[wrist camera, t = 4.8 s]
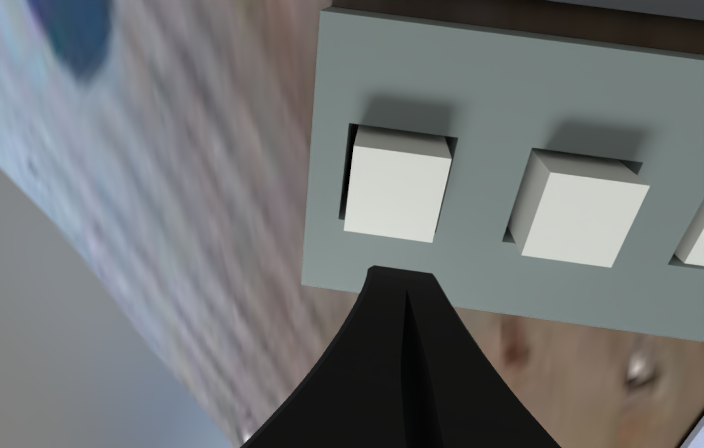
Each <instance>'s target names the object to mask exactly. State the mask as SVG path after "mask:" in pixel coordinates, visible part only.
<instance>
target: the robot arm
mask: <svg viewBox="0 0 704 448" xmlns="http://www.w3.org/2000/svg"><path fill="white" fill-rule="evenodd" d="M240 448H561V447H560V446H559V445H558V444H557V442H556V441H555V440H554V439H553V438H552V437H551V436H550V435H549V434H548V433H547V431H546V430H545V429H544V428H543V427H542V426H541V425H540V424H539V422H538V421H537V420H536V419H535V418H534V417H533V416H532V415H531V414H530V412H529V411H528V410H527V409H526V408H525V407H524V406H523V404H522V403H521V402H520V401H519V400H518V398H517V397H516V396H515V395H514V393H513V392H512V391H511V390H510V388H509V387H508V386H507V384H506V383H505V382H504V381H503V379H502V378H501V377H500V375H499V374H498V373H497V371H496V370H495V369H494V367H493V366H492V365H491V363H490V362H489V361H488V359H487V358H486V356H485V355H484V354H483V352H482V351H481V349H480V348H479V346H478V345H477V343H476V342H475V340H474V339H473V337H472V336H471V334H470V333H469V331H468V330H467V329H466V327H465V325H464V324H463V322H462V321H461V319H460V318H459V316H458V314H457V313H456V311H455V309H454V308H453V306H452V305H451V303H450V301H449V300H448V298H447V296H446V294H445V293H444V291H443V289H442V288H441V286H440V284H439V282H438V281H437V279H436V277H435V276H434V275H433V273H427V272H419V271H412V270H405V269H398V268H391V267H384V266H377V265H373V266H372V267H370V268H368V270H367V276H366V279H365V282H364V285H363V288H362V290H361V292H360V294H359V296H358V298H357V300H356V302H355V304H354V306H353V308H352V310H351V311H350V313H349V315H348V317H347V318H346V320H345V322H344V324H343V325H342V327H341V328H340V330H339V332H338V333H337V334H336V336H335V337H334V339H333V340H332V342H331V343H330V345H329V346H328V348H327V349H326V350H325V352H324V353H323V355H322V356H321V358H320V359H319V360H318V362H317V363H316V364H315V366H314V367H313V368H312V369H311V371H310V372H309V373H308V374H307V376H306V377H305V378H304V379H303V381H302V382H301V383H300V384H299V385H298V387H297V388H296V389H295V390H294V391H293V393H292V394H291V395H290V396H289V397H288V398H287V399H286V401H285V402H284V403H283V404H282V405H281V406H280V407H279V408H278V409H277V410H276V411H275V412H274V413H273V415H272V416H271V417H270V418H269V419H268V420H267V421H266V422H265V423H264V424H263V425H262V426H261V427H260V428H259V429H258V430H257V431H256V432H255V433H254V434H253V435H252V437H251V438H249V439H248V440H247V441H246V442H245V443H244V444H243V445H242V446H241V447H240ZM680 448H704V416H703V417H702V419H701V420H700V421H699V423H698V424H697V425H696V427H695V428H694V430H693V431H692V432H691V434H690V435H689V436H688V438H687V439H686V440H685V442H684V443H683V444H682V446H681V447H680Z"/></svg>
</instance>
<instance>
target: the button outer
mask: <svg viewBox="0 0 704 448" xmlns="http://www.w3.org/2000/svg"><path fill="white" fill-rule="evenodd" d="M451 160H452V158H451V155H450V152H449V149H448V146H447V143H446V140H445V137H444V136H442V135H435V134H427V133H420V132H413V131H405V130H398V129H390V128H383V127H375V126H368V125H360V124H359V127H358V131H357V135H356V139H355V143H354V148H353V157H352V165H351V174H350V182H349V190H348V199H347V207H346V216H345V224H344V231H350V232H357V233H365V234H372V235H379V236H386V237H393V238H401V239H408V240H415V241H422V242H429V243H432V242H433V237H434V233H435V229H436V224H437V220H438V216H439V212H440V207H441V203H442V199H443V194H444V190H445V186H446V181H447V177H448V173H449V169H450V164H451Z"/></svg>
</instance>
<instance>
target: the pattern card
mask: <svg viewBox="0 0 704 448" xmlns="http://www.w3.org/2000/svg"><path fill="white" fill-rule="evenodd" d="M547 1H555V2H563V3H571V4H579V5H586V6H594V7H602V8H610V9H618V10H626V11H633V12H641V13H649V14H657V15H665V16H672V17H680V18H688V19H696V20H704V0H547Z"/></svg>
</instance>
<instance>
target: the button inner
mask: <svg viewBox="0 0 704 448" xmlns="http://www.w3.org/2000/svg"><path fill="white" fill-rule="evenodd" d="M674 254H675V255H676V256H677V257H678V258H679V259H680V260H681V261H682V262H683V263H686V264H693V265H700V266H704V199H703V201H702V203H701V205H700V206H699V208H698V210H697V212H696V214H695V216H694V217H693V219H692V221H691V223H690V225H689V227H688V228H687V230H686V232H685V234H684V236H683V237H682V239H681V241H680V243H679V245H678V247H677V248H676V250H675V252H674Z"/></svg>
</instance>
